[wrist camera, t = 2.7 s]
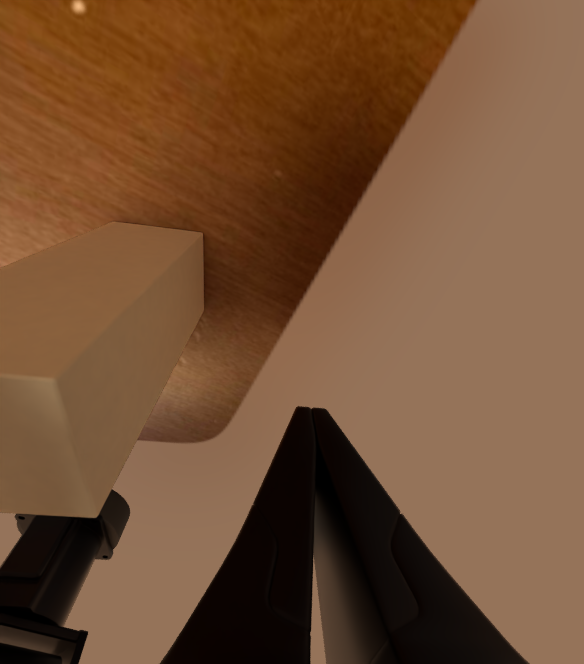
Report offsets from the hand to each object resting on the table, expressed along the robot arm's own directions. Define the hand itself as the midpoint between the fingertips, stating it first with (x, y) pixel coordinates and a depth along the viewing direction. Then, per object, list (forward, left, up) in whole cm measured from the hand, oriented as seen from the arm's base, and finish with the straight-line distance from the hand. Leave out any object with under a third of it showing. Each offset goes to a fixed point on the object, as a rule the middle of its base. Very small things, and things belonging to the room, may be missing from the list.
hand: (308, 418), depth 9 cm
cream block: (0, +7, -10) cm, 13 cm away
